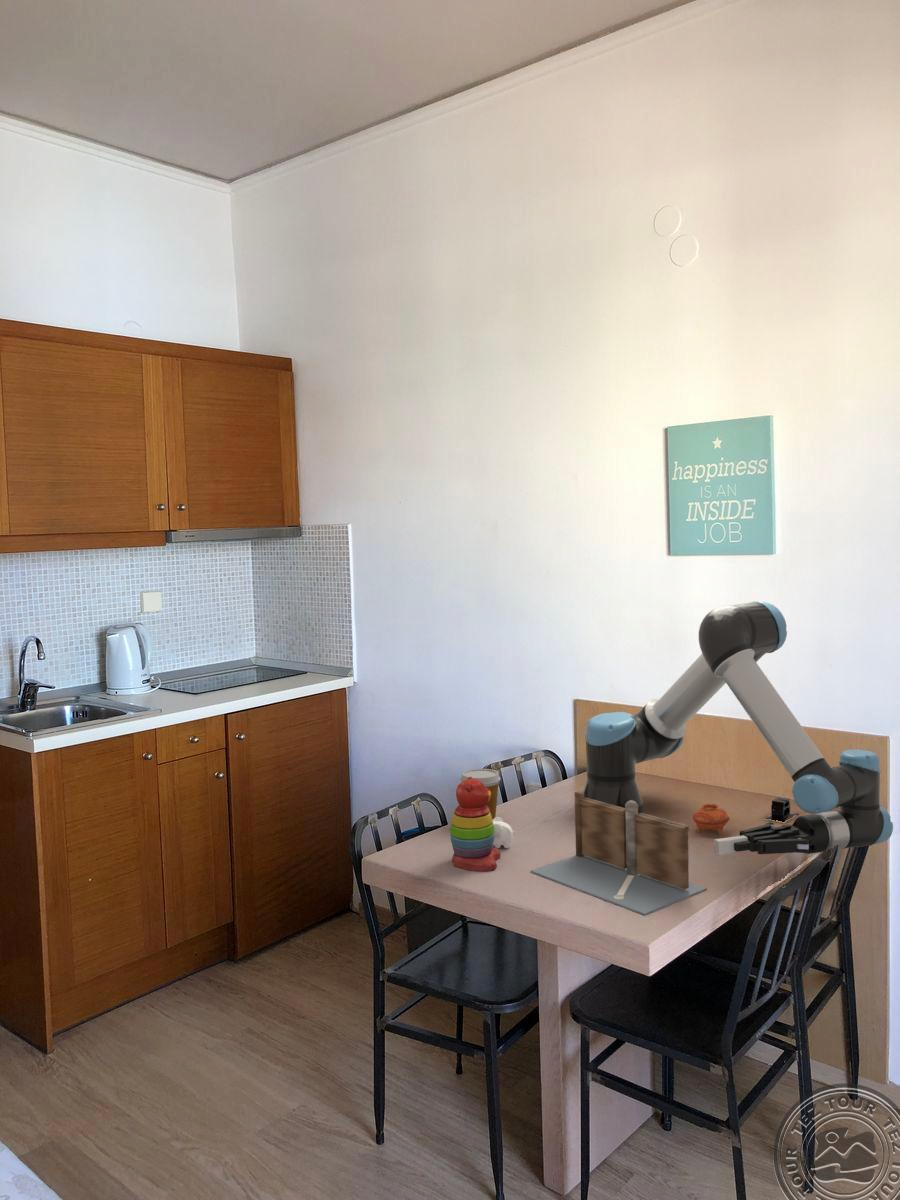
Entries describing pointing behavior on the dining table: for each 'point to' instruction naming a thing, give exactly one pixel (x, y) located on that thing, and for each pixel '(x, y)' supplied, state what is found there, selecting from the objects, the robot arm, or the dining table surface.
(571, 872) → the card
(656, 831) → the hinged fence panel
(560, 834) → the dining table surface
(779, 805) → the black box
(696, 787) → the dining table surface
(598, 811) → the fixed fence
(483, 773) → the disposable coffee cup
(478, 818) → the stacking bear
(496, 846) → the elephant figurine
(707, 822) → the pot
